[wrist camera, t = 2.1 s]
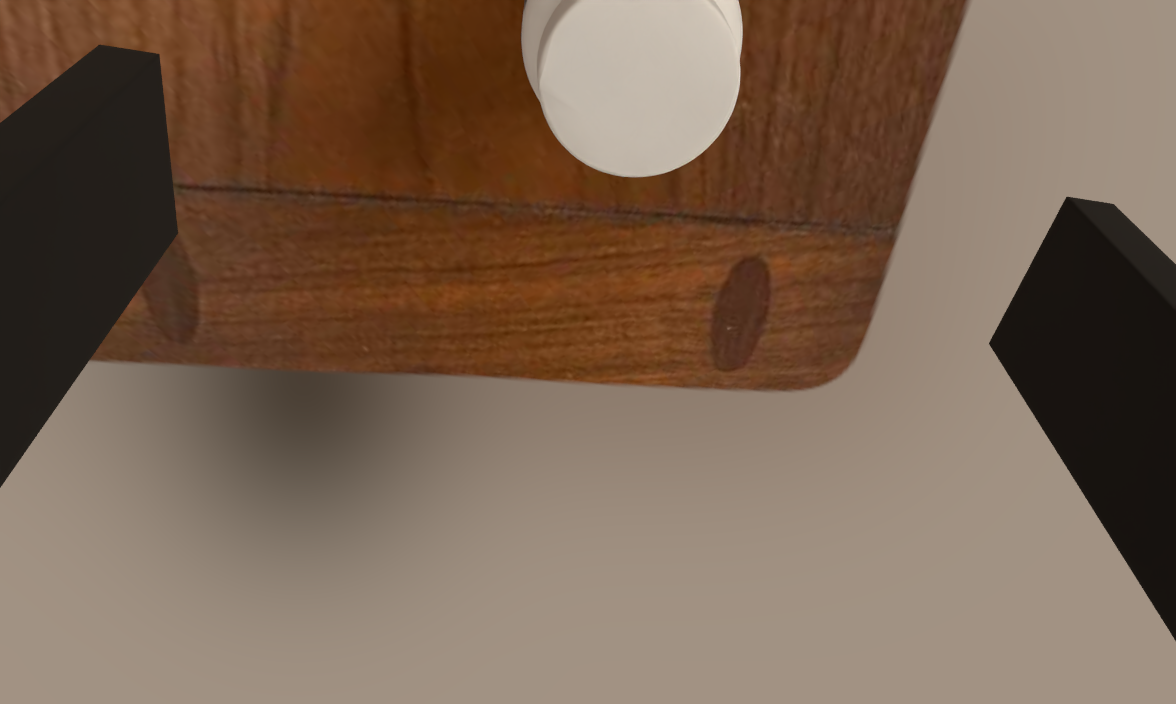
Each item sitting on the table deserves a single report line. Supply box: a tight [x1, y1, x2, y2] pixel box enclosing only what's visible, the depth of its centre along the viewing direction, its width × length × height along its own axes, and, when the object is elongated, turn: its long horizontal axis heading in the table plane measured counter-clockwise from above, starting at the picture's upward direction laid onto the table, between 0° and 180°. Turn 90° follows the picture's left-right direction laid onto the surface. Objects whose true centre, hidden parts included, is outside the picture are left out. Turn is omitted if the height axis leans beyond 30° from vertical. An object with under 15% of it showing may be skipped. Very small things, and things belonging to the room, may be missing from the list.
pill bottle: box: [521, 0, 743, 177], centre depth 25 cm, size 6×6×10 cm
